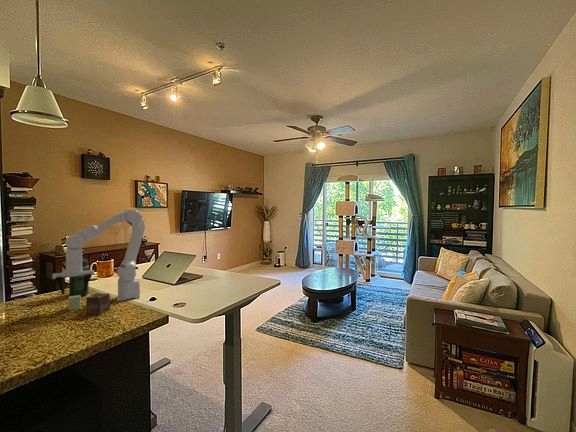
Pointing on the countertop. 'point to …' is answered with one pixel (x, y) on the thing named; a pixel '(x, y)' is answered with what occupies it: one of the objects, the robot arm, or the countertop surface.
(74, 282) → the coffee jar
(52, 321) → the countertop surface
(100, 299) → the box
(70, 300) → the sage block
